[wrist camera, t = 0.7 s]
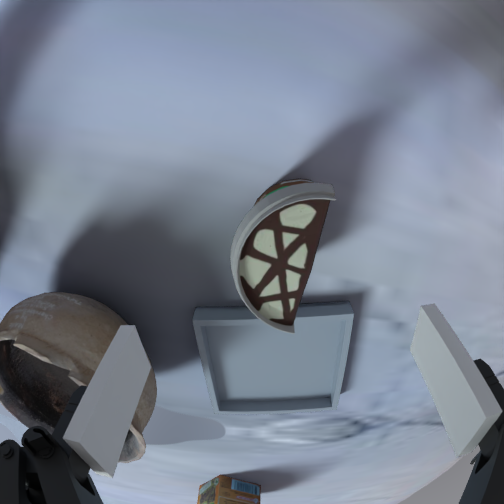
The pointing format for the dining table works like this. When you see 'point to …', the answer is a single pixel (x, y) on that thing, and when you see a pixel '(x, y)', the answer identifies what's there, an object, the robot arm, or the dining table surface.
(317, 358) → the tray
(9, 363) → the ceramic bowl
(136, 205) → the dining table surface
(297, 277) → the food container
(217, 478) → the milk carton
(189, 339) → the dining table surface
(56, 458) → the robot arm
